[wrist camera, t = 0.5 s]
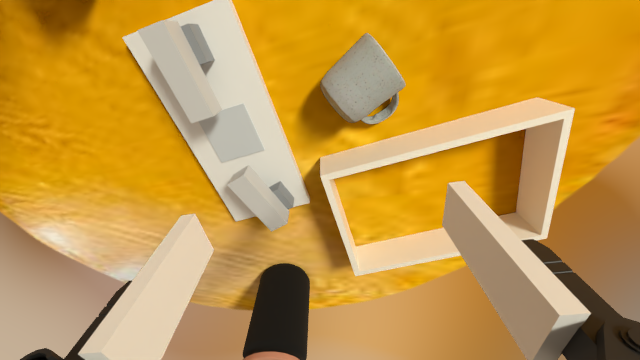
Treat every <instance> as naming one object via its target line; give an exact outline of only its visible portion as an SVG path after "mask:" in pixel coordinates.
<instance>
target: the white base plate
mask: <svg viewBox="0 0 640 360" xmlns="http://www.w3.org/2000/svg"><path fill="white" fill-rule="evenodd" d="M122 38H123V39H124V41H125V43H126V44H127V46H128V48H129V49H130V51H131V52H132V54H133V56H134V57H135V59H136V60H137V62H138V64H139V65H140V67H141V69H142V70H143V72H144V73H145V75H146V77H147V78H148V80H149V82H150V83H151V85H152V86H153V88H154V90H155V91H156V93H157V94H158V96H159V98H160V99H161V101H162V103H163V104H164V106H165V107H166V109H167V111H168V112H169V114H170V116H171V117H172V119H173V120H174V122H175V124H176V125H177V127H178V128H179V130H180V132H181V133H182V135H183V137H184V138H185V140H186V141H187V143H188V145H189V146H190V148H191V150H192V151H193V153H194V154H195V156H196V158H197V159H198V161H199V162H200V164H201V166H202V167H203V169H204V171H205V172H206V174H207V175H208V177H209V179H210V180H211V182H212V184H213V185H214V187H215V188H216V190H217V192H218V193H219V195H220V196H221V198H222V200H223V201H224V203H225V205H226V206H227V208H228V209H229V211H230V213H231V214H232V216H233V218H234V219H235V221H240V220H244V219H248V218H252V217H256V216H257V217H258V218H259V219H260V220H261V221H262V222H263V223H264V224H265V225H266V226H267V227H268V228H269V229H270V230H271V231H273V230H275V229H277V228H279V227H281V226H283V225H285V224H287V222H288V216H289V210H288V209H290V208H292V207H295V206H299V205H303V204H307V203H310V196H309V194H308V191H307V189H306V186H305V184H304V181H303V179H302V176H301V174H300V171H299V169H298V166H297V164H296V161H295V158H294V156H293V153H292V151H291V148H290V146H289V143H288V141H287V138H286V136H285V133H284V131H283V128H282V126H281V123H280V121H279V118H278V116H277V113H276V111H275V108H274V106H273V103H272V100H271V98H270V95H269V93H268V90H267V88H266V85H265V83H264V80H263V78H262V75H261V73H260V70H259V68H258V65H257V63H256V60H255V58H254V55H253V53H252V50H251V48H250V45H249V42H248V40H247V37H246V35H245V32H244V30H243V27H242V25H241V22H240V20H239V17H238V15H237V12H236V10H235V7H234V5H233V2H232V0H213V1H211V2H209V3H206V4H204V5H201V6H199V7H196V8H194V9H191V10H189V11H186V12H184V13H181V14H179V15H176V16H174V17H171V18H169V19H167V20H162V21H159V22H157V23H154V24H152V25H150V26H147V27H145V28H142V29H140V30H137V32H134V33H132V34H129V35H127V36H125V37H122Z"/></svg>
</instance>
